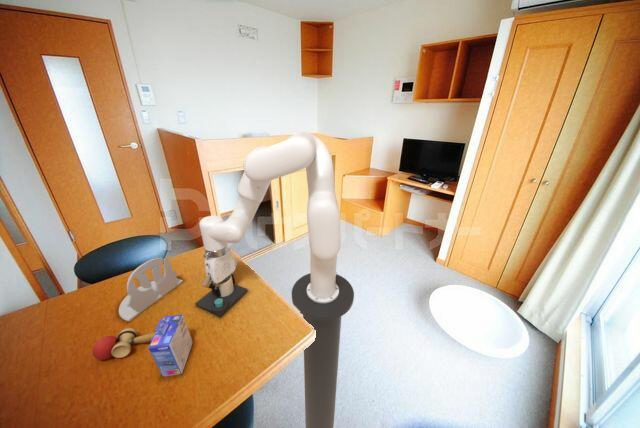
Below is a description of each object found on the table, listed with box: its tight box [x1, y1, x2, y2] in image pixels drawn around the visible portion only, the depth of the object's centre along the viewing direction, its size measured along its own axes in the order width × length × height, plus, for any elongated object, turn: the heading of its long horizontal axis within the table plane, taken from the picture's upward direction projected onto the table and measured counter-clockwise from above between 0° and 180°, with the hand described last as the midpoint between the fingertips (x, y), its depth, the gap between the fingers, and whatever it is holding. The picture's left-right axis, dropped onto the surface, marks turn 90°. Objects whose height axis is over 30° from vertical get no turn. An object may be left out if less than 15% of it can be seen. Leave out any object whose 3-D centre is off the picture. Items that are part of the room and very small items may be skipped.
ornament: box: [118, 257, 184, 322], centre depth 88 cm, size 22×13×17 cm, turn 159°
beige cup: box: [213, 274, 234, 297], centre depth 90 cm, size 7×7×6 cm
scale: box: [195, 283, 249, 318], centre depth 89 cm, size 14×12×3 cm
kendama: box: [91, 327, 157, 361], centre depth 71 cm, size 8×6×18 cm
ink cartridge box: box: [148, 314, 194, 377], centre depth 66 cm, size 10×6×14 cm, turn 10°
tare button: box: [214, 298, 224, 308], centre depth 83 cm, size 3×3×2 cm
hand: (224, 288), depth 91 cm, fingers closed on beige cup, 6 cm apart
